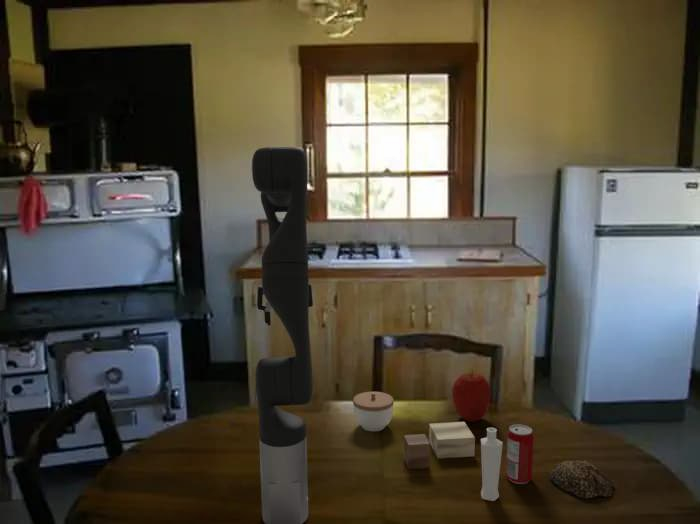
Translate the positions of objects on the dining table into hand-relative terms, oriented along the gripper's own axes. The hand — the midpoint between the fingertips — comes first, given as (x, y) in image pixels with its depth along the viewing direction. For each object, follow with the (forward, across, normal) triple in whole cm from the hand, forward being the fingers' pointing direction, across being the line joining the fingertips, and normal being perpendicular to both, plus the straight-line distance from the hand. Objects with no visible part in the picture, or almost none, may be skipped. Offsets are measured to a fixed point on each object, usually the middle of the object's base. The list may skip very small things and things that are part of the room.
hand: (285, 323), depth 165 cm
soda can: (+29, +47, -39) cm, 68 cm away
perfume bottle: (+29, +38, -44) cm, 65 cm away
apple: (+28, +49, -7) cm, 57 cm away
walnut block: (+28, +27, -27) cm, 48 cm away
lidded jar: (+28, +22, -6) cm, 36 cm away
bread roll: (+29, +60, -44) cm, 80 cm away
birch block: (+28, +38, -22) cm, 52 cm away
